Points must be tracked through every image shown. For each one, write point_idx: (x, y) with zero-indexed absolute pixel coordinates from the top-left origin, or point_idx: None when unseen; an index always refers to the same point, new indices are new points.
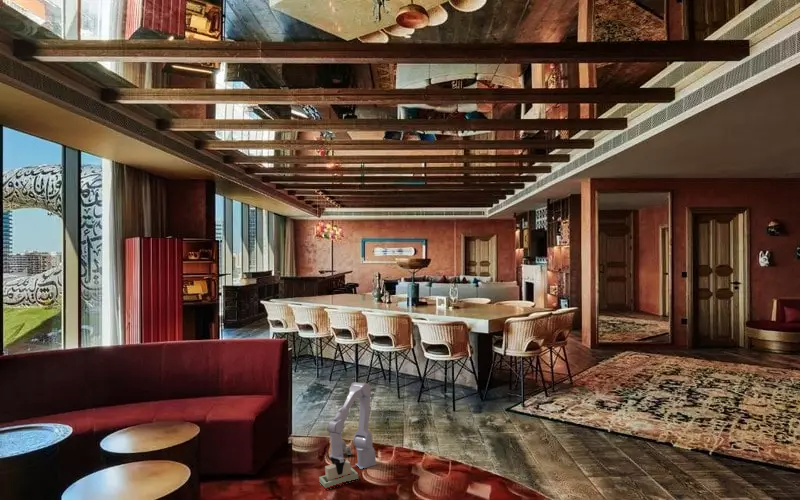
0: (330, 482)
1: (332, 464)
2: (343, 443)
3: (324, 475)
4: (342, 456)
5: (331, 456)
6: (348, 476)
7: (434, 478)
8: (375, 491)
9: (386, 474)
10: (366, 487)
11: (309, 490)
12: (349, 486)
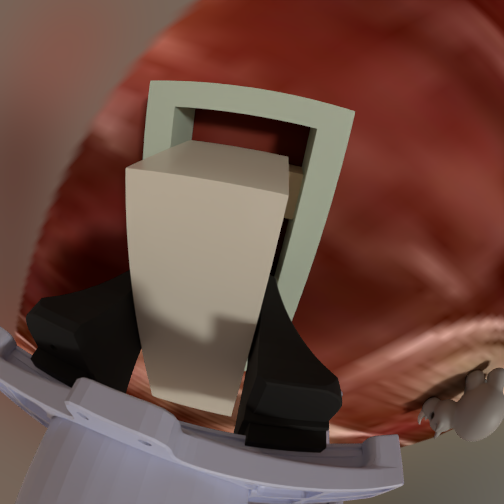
0: (147, 140)
1: (249, 310)
2: (463, 434)
3: (337, 171)
4: (37, 416)
5: (66, 405)
6: None
7: None
8: (37, 287)
9: (143, 388)
10: (72, 289)
11: None
12: (116, 244)
